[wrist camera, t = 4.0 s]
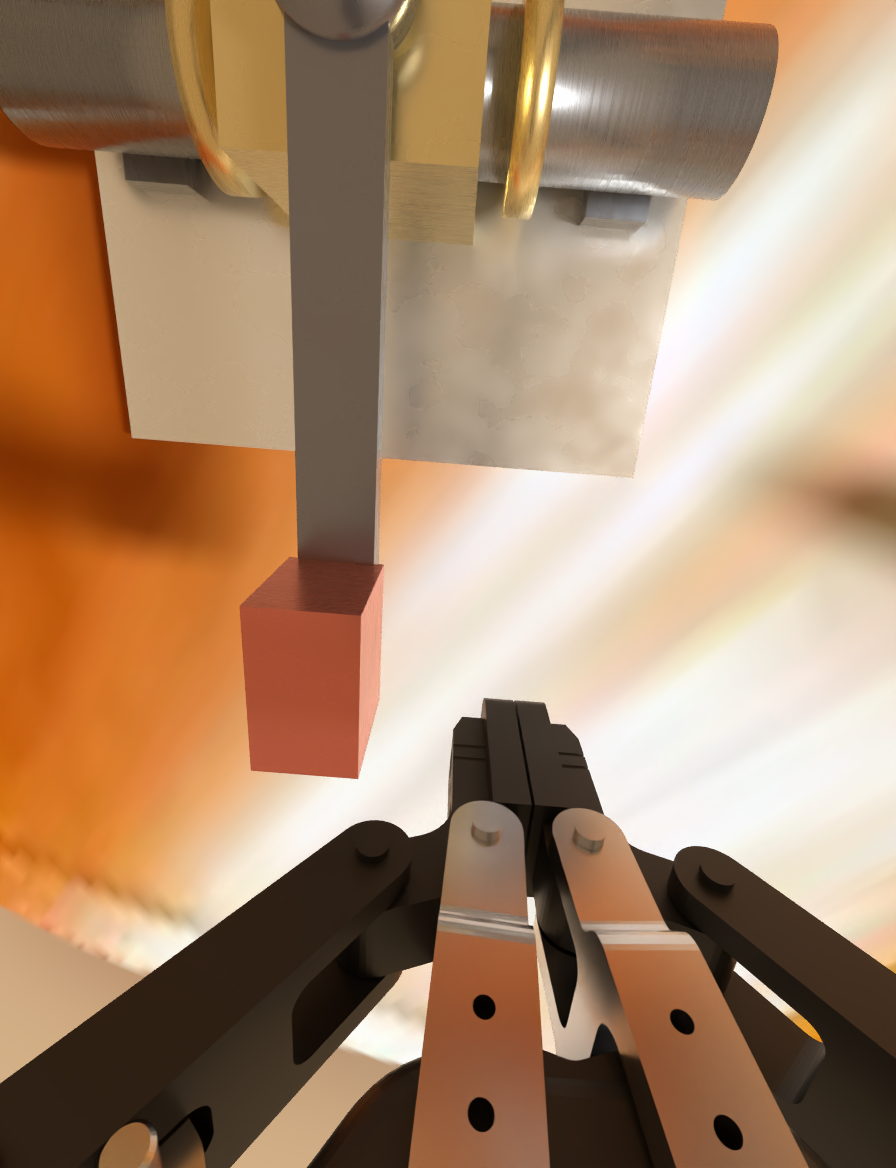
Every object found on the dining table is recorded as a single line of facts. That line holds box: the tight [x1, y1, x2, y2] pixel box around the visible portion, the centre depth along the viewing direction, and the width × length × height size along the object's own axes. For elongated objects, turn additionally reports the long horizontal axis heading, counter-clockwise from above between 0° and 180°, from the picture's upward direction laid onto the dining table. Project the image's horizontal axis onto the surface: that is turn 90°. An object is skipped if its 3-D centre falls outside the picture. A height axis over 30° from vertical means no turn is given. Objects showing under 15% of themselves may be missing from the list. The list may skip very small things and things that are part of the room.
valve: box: [0, 0, 778, 478], centre depth 18 cm, size 24×23×10 cm
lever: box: [240, 0, 420, 779], centre depth 13 cm, size 21×4×5 cm, turn 176°
